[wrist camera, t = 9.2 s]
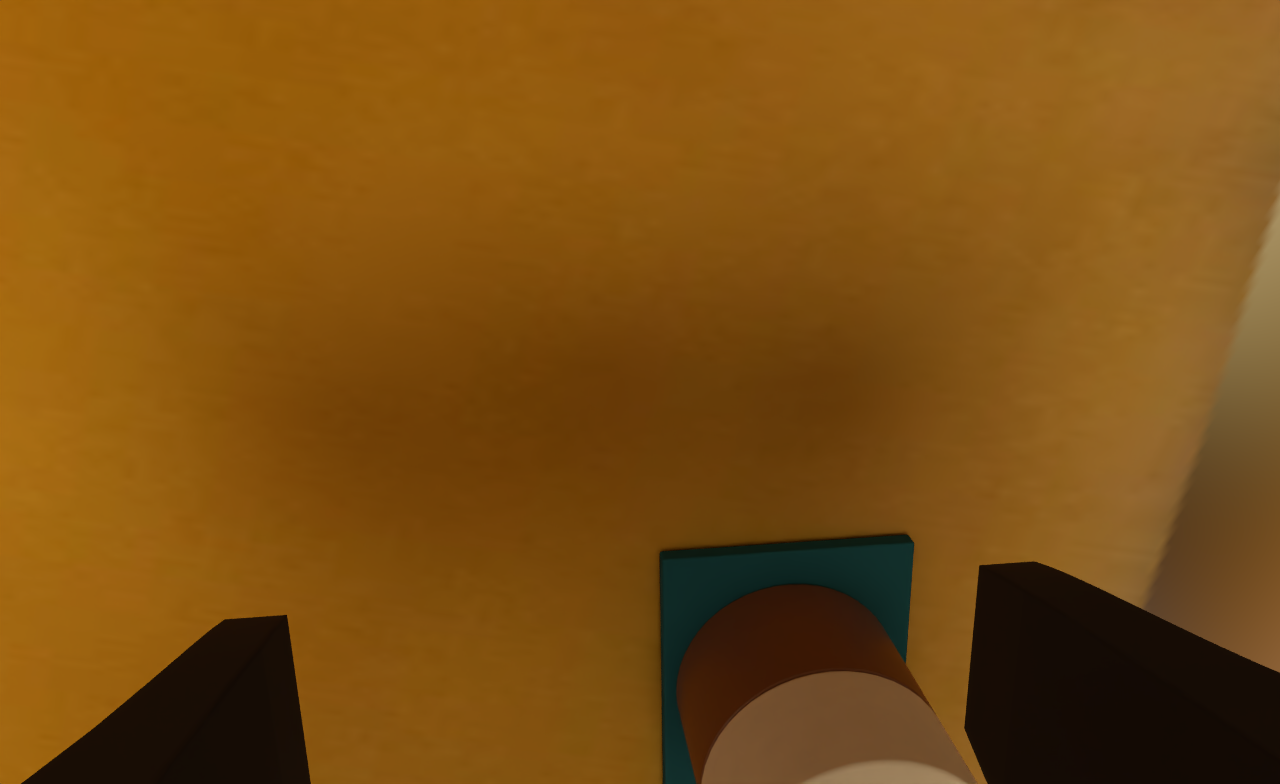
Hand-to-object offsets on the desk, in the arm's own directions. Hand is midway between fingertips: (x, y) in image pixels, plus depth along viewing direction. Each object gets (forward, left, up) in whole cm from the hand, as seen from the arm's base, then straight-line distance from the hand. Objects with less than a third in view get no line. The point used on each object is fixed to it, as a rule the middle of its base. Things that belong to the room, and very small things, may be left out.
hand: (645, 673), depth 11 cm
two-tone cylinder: (-6, -4, -9) cm, 12 cm away
